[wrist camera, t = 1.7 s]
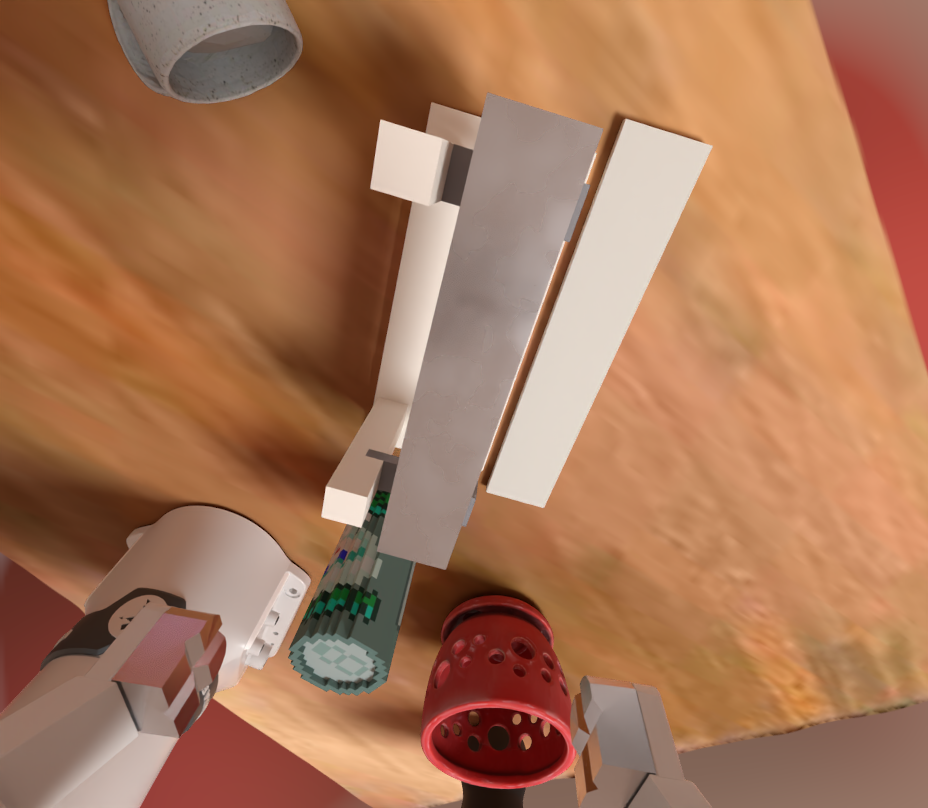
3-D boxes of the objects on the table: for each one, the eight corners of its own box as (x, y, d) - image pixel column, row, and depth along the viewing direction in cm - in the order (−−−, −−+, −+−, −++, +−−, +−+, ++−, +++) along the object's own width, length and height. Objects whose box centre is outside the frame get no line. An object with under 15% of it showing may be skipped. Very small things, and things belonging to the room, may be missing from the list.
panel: (543, 501, 39) (543, 508, 38) (486, 486, 39) (485, 491, 38) (707, 146, 26) (712, 145, 25) (622, 120, 26) (626, 118, 25)
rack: (482, 465, 38) (471, 579, 27) (369, 434, 38) (313, 537, 27) (594, 153, 27) (649, 142, 16) (433, 103, 26) (381, 58, 16)
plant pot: (535, 673, 51) (541, 806, 40) (425, 641, 50) (402, 768, 39) (584, 602, 44) (606, 736, 34) (459, 564, 44) (442, 690, 33)
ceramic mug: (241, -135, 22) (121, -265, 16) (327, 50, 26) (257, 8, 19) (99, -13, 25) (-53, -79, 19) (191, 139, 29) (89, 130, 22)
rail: (452, 530, 30) (445, 569, 27) (389, 513, 30) (376, 551, 27) (589, 135, 19) (603, 128, 16) (491, 105, 19) (487, 92, 16)
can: (386, 467, 39) (321, 619, 26) (440, 505, 40) (405, 668, 27) (349, 506, 41) (273, 663, 28) (401, 540, 43) (352, 705, 30)
